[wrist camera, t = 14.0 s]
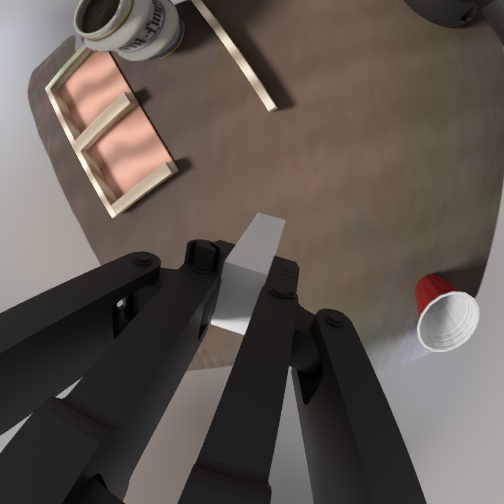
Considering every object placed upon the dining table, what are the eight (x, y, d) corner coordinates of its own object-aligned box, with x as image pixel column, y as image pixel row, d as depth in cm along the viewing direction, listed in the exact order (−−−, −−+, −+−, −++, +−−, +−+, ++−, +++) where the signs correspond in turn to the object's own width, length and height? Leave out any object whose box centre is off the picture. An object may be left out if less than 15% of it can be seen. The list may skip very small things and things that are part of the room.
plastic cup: (414, 253, 47) (438, 285, 36) (462, 268, 46) (490, 301, 35) (392, 306, 51) (406, 347, 40) (438, 318, 50) (458, 357, 39)
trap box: (278, 108, 43) (275, 106, 40) (120, 213, 55) (112, 218, 52) (180, -25, 36) (173, -32, 33) (54, 88, 47) (45, 88, 45)
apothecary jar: (128, 70, 44) (58, 57, 28) (132, 14, 40) (70, -14, 23) (189, 61, 42) (131, 34, 26) (193, 1, 38) (141, -43, 21)
